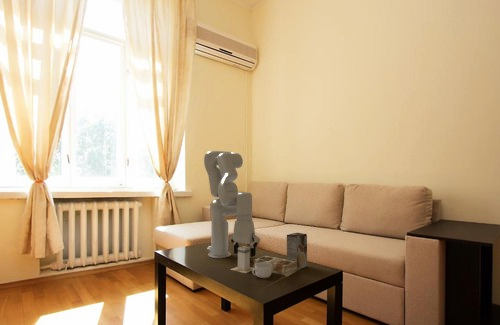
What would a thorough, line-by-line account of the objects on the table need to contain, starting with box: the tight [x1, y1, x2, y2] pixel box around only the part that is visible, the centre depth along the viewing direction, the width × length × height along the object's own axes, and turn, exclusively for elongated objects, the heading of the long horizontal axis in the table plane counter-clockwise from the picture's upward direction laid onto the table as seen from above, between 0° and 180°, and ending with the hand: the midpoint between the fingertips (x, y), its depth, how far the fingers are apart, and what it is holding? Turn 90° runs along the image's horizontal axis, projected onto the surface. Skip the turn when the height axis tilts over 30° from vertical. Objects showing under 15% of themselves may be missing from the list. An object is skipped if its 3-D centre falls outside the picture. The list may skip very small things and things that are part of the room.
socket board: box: [253, 254, 298, 278], centre depth 138 cm, size 18×10×5 cm, turn 54°
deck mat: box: [230, 266, 255, 274], centre depth 138 cm, size 9×9×1 cm
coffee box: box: [286, 232, 308, 271], centre depth 144 cm, size 9×6×16 cm
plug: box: [237, 245, 251, 271], centre depth 138 cm, size 4×4×10 cm
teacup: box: [251, 262, 273, 279], centre depth 128 cm, size 10×8×5 cm
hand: (244, 254), depth 137 cm, fingers open, 9 cm apart
